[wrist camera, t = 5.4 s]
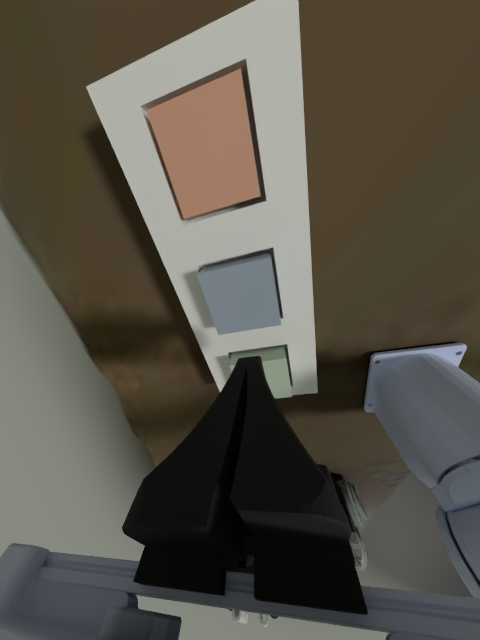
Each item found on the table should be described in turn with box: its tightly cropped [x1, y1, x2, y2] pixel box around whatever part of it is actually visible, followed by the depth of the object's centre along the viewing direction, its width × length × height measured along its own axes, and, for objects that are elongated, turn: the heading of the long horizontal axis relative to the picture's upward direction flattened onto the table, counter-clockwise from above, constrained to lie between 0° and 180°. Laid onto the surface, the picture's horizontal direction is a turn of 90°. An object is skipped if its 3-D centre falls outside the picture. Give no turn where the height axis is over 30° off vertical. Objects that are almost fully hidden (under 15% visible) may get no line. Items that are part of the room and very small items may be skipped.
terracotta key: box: [146, 68, 261, 219], centre depth 10 cm, size 5×5×2 cm
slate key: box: [197, 252, 281, 335], centre depth 13 cm, size 5×5×2 cm
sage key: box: [229, 345, 292, 398], centre depth 17 cm, size 5×5×2 cm
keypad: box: [86, 0, 318, 395], centre depth 15 cm, size 24×10×3 cm, turn 14°
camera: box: [317, 464, 367, 571], centre depth 29 cm, size 15×7×10 cm, turn 27°
